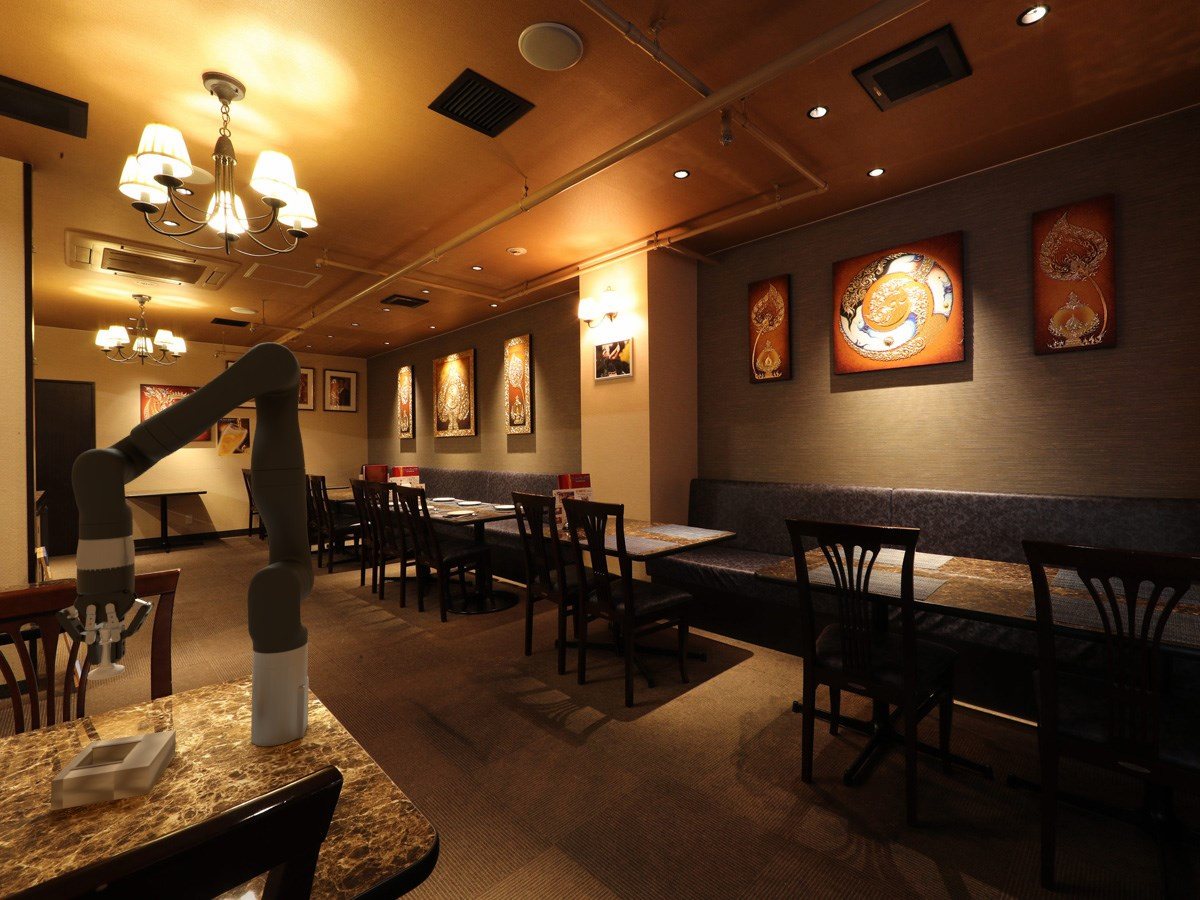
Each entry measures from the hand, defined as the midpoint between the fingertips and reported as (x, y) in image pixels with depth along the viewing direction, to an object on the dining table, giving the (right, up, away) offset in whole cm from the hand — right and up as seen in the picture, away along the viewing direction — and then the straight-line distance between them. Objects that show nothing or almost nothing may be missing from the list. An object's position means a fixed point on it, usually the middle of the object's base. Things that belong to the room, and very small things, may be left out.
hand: (106, 662), depth 96 cm
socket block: (+6, -18, -5) cm, 19 cm away
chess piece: (0, -2, 0) cm, 2 cm away
